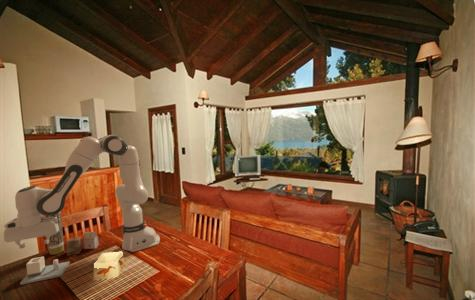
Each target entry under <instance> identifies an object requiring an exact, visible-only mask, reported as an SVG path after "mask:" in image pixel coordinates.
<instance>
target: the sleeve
mask: <svg viewBox="0 0 475 300" xmlns="http://www.w3.org/2000/svg"><path fill="white" fill-rule="evenodd" d="M45 266H46V264H45V255H44V256H43V255H42V256H39V257H33V258H31V259H30V260H29V261H28V262H26V272H27V273H26V275H28V278H29V277H34V276H38V275H41V274H42V273H43V271H44V270H45Z"/></svg>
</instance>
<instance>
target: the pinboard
mask: <svg viewBox="0 0 475 300" xmlns="http://www.w3.org/2000/svg"><path fill="white" fill-rule="evenodd" d="M70 262H71V261H65V262H59V259H58V258H56V259H53V260H52V264H49V265H45V270H44V271H43V273H42V274H41V275H38V276H34V277H29V278H28V275H27V274H26V275H25V277H23V278H22V280H21V281H20V282H19V284H20V286H21V285H26V284H31V283H36V282H41V281H45V280H49V279H55V278H59V277H62V276H63V275H64V274H65V272H66V270H67V268H68V266H69V265H70ZM64 271H65V272H64Z"/></svg>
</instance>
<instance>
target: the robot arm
mask: <svg viewBox="0 0 475 300" xmlns="http://www.w3.org/2000/svg"><path fill="white" fill-rule="evenodd" d="M102 153H107V154H110V155H115V156H117V157H118V166H119V168H118V169H119V177H120V179H121V181H122V182H123V183H121V184H119V185H118V186H116V188H115V192H114V194H115V196H116V198H117V200H118V202H119V206H120V209H121V213H122V223H123V224H122V234H123V239H122V245H121V248H122V250H125V251H129V252H131V253H134V252H138V251H141V250H146V249H148V248H150V247H154V246H157V245H159V243H160V242H161V238H160V235H159V234H158V233H156V231H155V229H154V228H152V227H150V226H148V224H147V222H146V220H143V219H144V218H143V209H142V207H141V206H140V205H143V204H144V203H146V202H147V200H148V199H149V192H148V190H147V188H146V187H145V186H144V183H143V180H142V177H141V171H140V159H139V154H138V149H137V148H136V147H135V146H134V145H129V144H127V143H126V142H125V140H124V139H123V138H122V137H120V136H118V135H116V134H108V135H105V136H103V137H101V138H96V137H92V136H87V137H86V138H84V139H83V140H81V142H79V143H78V145H76V147H75V148H74V149H73V151H71V153H70V155H69V157H68V158H67V161H66V163H65V169H64V172H63V175H62V176H61V177H60V179H59V181H58V182H57V183H56V185H55V186H54V188H53V189H52V188H51V189H50V188H42V187H39V186H37V185H31V186H26V187H23V188H22V189H20V190H18V191H17V192H16V193H15V196H14V199H15V200H14V202H15V209H16V210H17V216H16V218H13V219H11V220H9V221H8V222H6V223H5V224H4V226H3V227H4V231H3V241H4V242H6V243H12V242H15V244H16V245H17V246H18V247H19V250H21V249H25V247H26V243H25V242H22V241H24V240H30V239H35V238H36V239H37V238H40V237H45V238H46V239H44V240H43V245H49V244H48V243H49V238H50V236H51V235H54V234H56V233H57V232H58V231H59V226H58V219H57V218H56V217H54V216H51V215H55V214H57V213H59V212H60V211H61V212H62V211H63V209H64V208H65V203H66V198H67V196H68V194H69V193H70V191H71V190H72V188H74V186H75V184H76V183H77V181H78V180H79V179H80V178H81V177H82V175H83V174H84V173H86V171H88V169H89V168H90V167H92V165H93V164H94V162H95V160H96V159H97V158H98V156H100V155H101V154H102ZM44 216H45V217H44ZM46 216H51V217H46Z"/></svg>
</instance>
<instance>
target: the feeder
mask: <svg viewBox="0 0 475 300" xmlns="http://www.w3.org/2000/svg"><path fill="white" fill-rule="evenodd" d="M82 249H83V248H82V238H81V236H76V237H71V238H68V239H67V240H66V251H67V253H66V256H72V255H77V254H81V251H82Z"/></svg>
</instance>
